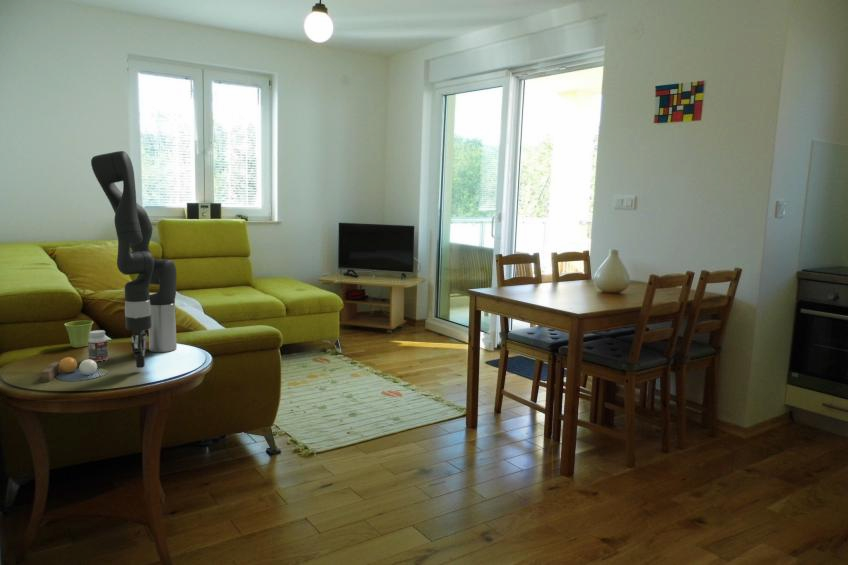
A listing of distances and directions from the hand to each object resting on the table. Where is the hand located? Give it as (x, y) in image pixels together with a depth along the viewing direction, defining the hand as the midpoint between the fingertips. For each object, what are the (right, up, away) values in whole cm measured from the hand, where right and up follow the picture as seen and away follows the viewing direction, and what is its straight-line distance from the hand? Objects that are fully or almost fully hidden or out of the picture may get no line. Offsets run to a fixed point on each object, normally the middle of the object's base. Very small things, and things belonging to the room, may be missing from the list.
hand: (140, 366), depth 198 cm
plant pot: (-36, +3, +30) cm, 47 cm away
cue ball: (-14, +1, -5) cm, 15 cm away
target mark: (-16, -2, -4) cm, 17 cm away
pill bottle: (-20, 0, +12) cm, 23 cm away
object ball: (-21, +1, -3) cm, 22 cm away
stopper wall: (-25, -2, -6) cm, 26 cm away
